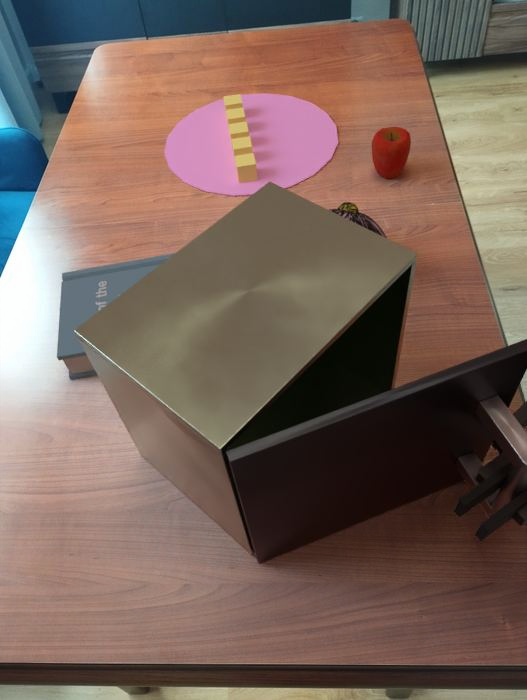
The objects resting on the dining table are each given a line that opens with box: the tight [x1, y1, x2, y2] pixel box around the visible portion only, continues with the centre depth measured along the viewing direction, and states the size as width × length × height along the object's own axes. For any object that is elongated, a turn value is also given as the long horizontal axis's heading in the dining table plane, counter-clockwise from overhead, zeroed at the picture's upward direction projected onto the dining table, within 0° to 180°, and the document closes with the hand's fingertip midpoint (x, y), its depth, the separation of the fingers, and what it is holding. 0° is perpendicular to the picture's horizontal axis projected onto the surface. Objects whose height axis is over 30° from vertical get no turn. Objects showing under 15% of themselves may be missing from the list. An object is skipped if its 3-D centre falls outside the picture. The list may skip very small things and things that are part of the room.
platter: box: [163, 92, 339, 197], centre depth 106 cm, size 32×32×3 cm
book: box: [56, 252, 176, 380], centre depth 80 cm, size 23×16×5 cm
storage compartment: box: [74, 182, 418, 556], centre depth 61 cm, size 18×26×24 cm
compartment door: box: [226, 338, 527, 565], centre depth 51 cm, size 8×26×23 cm, turn 111°
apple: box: [371, 126, 412, 179], centre depth 95 cm, size 6×6×8 cm
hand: (470, 520), depth 49 cm, fingers closed on compartment door, 2 cm apart
